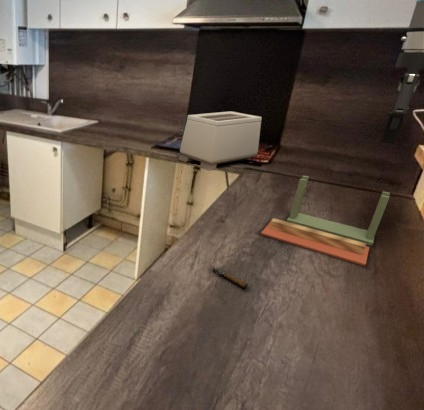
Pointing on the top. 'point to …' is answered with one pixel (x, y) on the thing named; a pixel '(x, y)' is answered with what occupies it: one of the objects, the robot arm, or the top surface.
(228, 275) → the can opener
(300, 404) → the top surface
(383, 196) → the rack
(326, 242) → the hanger bar
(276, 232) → the mat
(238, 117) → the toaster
